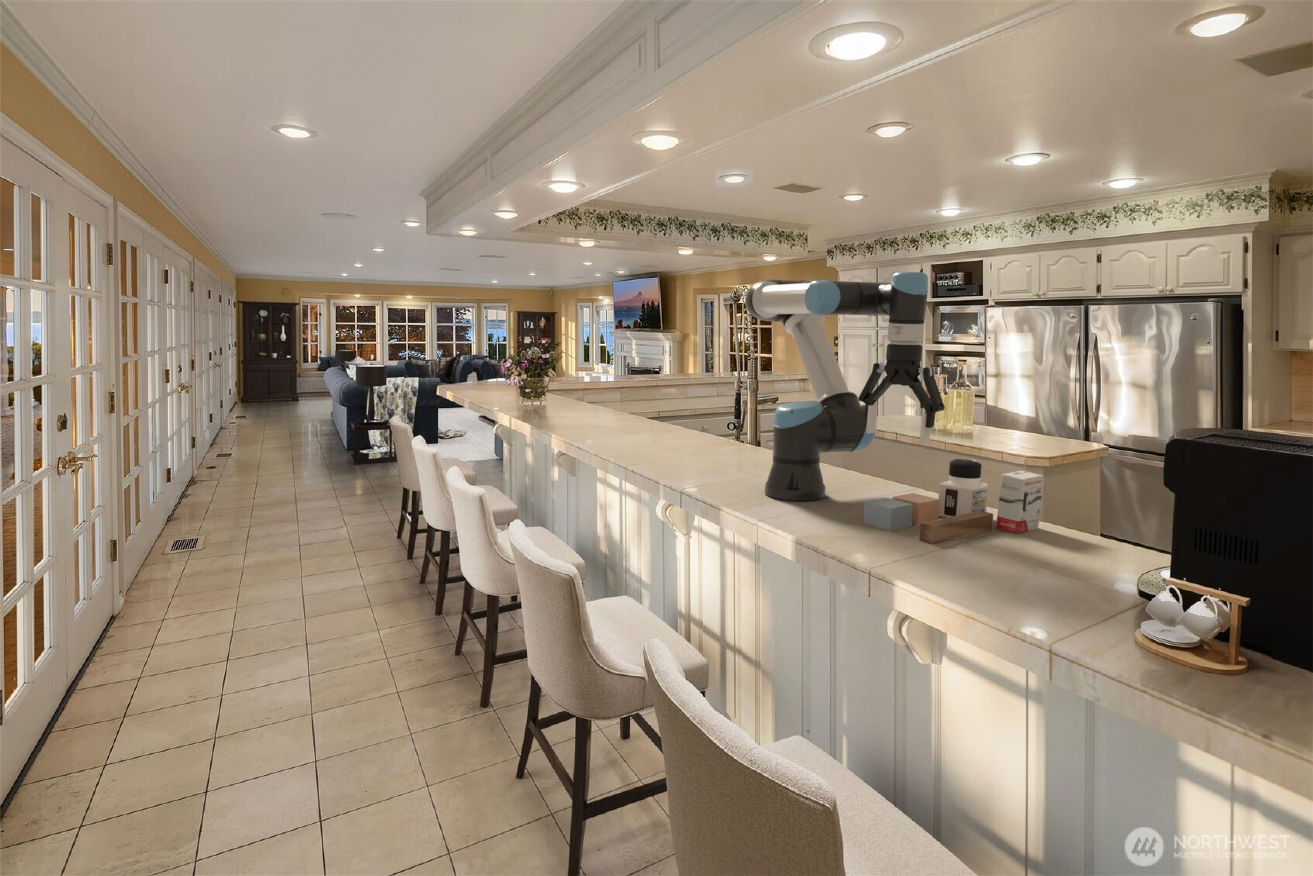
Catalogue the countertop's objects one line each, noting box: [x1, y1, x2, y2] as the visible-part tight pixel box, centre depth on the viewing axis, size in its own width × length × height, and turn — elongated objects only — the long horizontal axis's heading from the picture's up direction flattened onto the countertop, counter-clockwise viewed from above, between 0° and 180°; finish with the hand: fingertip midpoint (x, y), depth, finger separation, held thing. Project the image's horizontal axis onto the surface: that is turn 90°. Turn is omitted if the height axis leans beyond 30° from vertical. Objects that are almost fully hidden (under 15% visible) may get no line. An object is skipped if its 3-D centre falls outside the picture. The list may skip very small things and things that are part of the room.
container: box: [938, 458, 989, 518], centre depth 158 cm, size 8×8×13 cm
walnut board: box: [919, 511, 994, 545], centre depth 144 cm, size 3×20×4 cm, turn 122°
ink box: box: [995, 470, 1045, 534], centre depth 149 cm, size 8×5×12 cm, turn 123°
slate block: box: [863, 497, 913, 532], centre depth 152 cm, size 7×7×5 cm
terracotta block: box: [892, 492, 940, 526], centre depth 156 cm, size 7×7×5 cm
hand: (896, 437), depth 160 cm, fingers open, 13 cm apart
